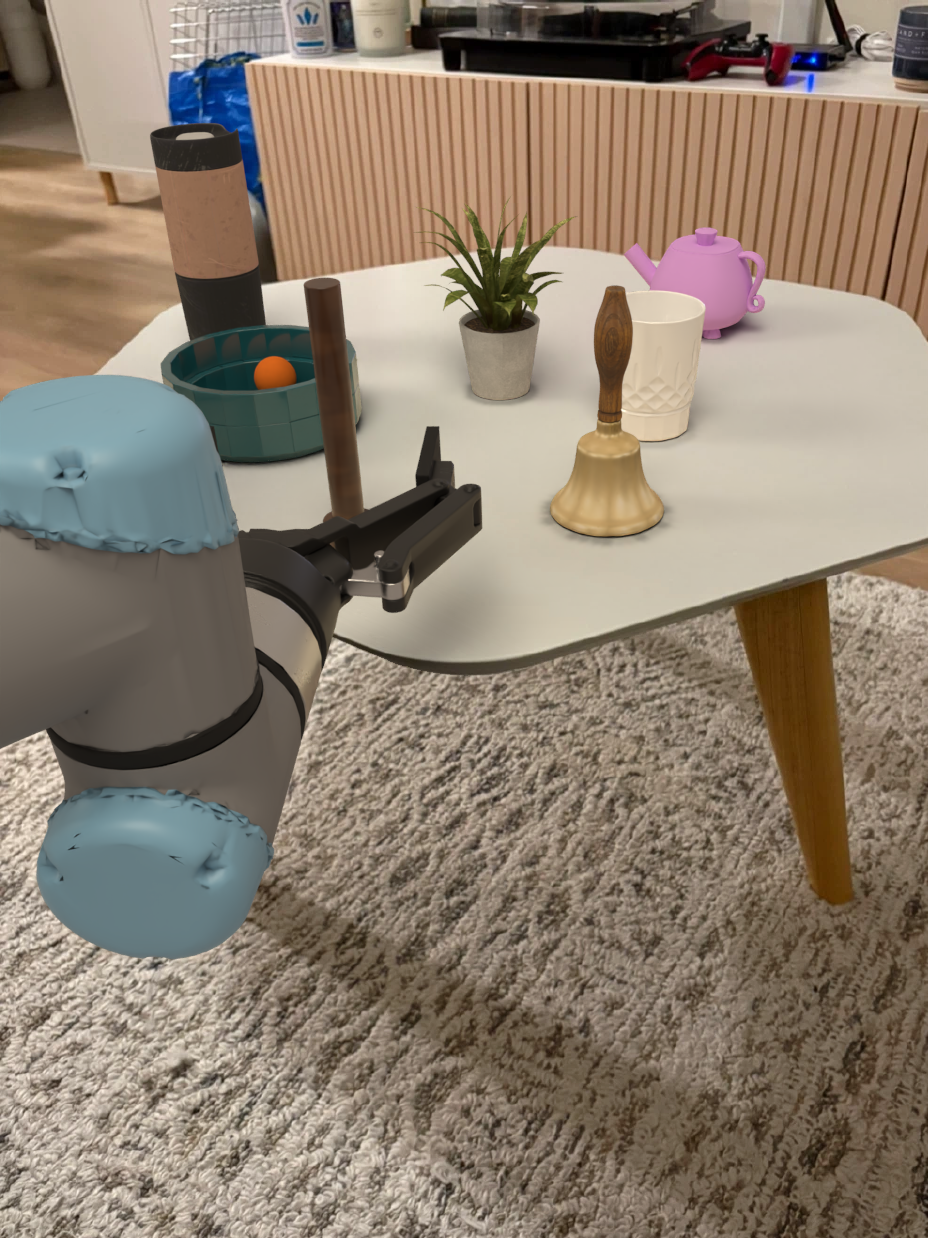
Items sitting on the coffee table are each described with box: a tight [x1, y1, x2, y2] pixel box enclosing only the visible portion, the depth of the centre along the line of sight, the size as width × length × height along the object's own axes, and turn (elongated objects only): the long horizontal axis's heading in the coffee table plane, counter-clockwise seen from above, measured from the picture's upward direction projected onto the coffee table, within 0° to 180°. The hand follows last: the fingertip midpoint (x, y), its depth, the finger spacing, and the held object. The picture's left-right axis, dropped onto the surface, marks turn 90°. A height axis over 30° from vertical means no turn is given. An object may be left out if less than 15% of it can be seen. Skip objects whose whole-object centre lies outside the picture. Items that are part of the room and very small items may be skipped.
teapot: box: [623, 227, 767, 340], centre depth 109 cm, size 10×15×9 cm
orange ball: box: [254, 356, 296, 390], centre depth 95 cm, size 4×4×4 cm
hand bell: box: [549, 284, 665, 537], centre depth 76 cm, size 8×8×16 cm
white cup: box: [621, 289, 706, 442], centre depth 89 cm, size 8×8×10 cm
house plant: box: [413, 194, 578, 401], centre depth 94 cm, size 14×14×16 cm
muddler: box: [303, 277, 369, 548], centre depth 72 cm, size 4×4×18 cm
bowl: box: [160, 324, 363, 463], centre depth 92 cm, size 16×16×6 cm
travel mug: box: [149, 122, 267, 341], centre depth 101 cm, size 8×8×20 cm
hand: (322, 446), depth 67 cm, fingers open, 13 cm apart
